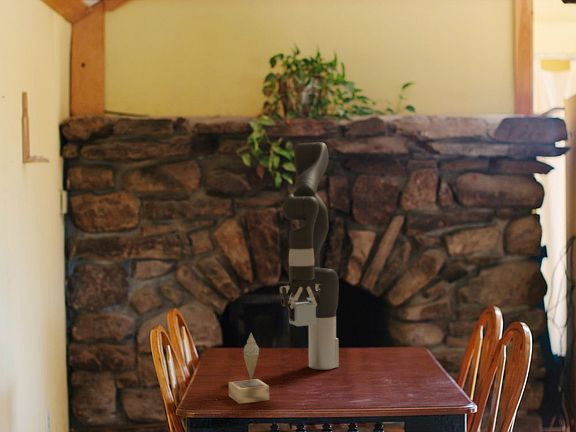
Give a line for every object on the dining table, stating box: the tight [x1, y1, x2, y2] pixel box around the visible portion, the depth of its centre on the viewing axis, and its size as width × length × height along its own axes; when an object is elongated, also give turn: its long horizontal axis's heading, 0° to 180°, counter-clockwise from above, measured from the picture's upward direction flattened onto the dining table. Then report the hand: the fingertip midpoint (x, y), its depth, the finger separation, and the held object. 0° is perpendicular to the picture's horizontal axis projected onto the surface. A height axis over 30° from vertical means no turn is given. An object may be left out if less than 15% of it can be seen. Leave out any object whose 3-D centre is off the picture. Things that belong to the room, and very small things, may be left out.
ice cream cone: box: [242, 332, 260, 380], centre depth 242 cm, size 5×5×15 cm
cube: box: [288, 301, 316, 327], centre depth 229 cm, size 6×6×6 cm
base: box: [228, 378, 270, 405], centre depth 220 cm, size 9×9×4 cm
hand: (302, 319), depth 229 cm, fingers closed on cube, 6 cm apart
